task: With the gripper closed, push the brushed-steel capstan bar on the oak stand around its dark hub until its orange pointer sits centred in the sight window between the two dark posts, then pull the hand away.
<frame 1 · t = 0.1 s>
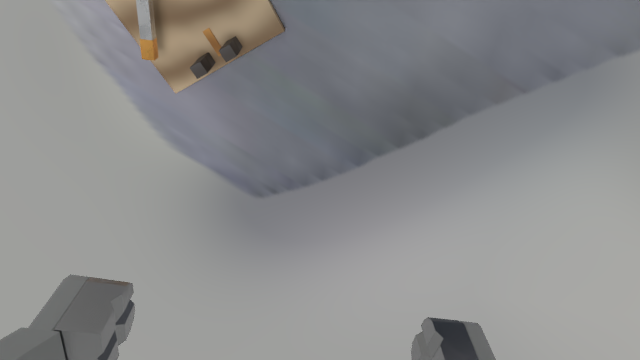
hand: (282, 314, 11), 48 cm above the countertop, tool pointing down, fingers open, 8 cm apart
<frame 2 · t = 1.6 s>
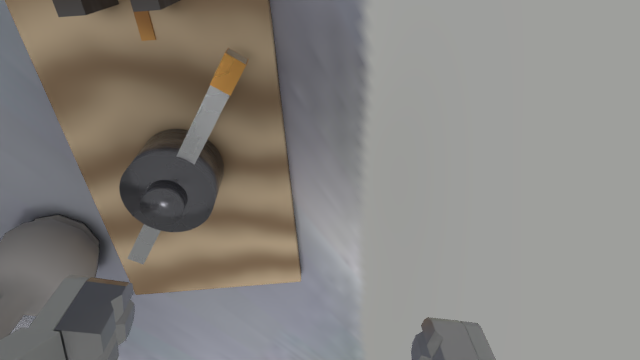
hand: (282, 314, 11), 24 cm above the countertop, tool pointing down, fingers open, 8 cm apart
capstan: (182, 166, 30), point 5 cm above the countertop, hinge at -35.0°
stand: (188, 156, 35), on the countertop
potion bottle: (64, 239, 40), on the countertop
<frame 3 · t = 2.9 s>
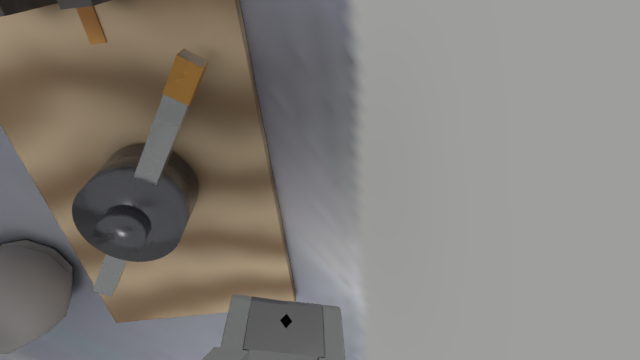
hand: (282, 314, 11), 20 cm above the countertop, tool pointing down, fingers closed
capstan: (145, 187, 26), point 5 cm above the countertop, hinge at -35.0°
stand: (160, 172, 31), on the countertop
potion bottle: (35, 265, 36), on the countertop
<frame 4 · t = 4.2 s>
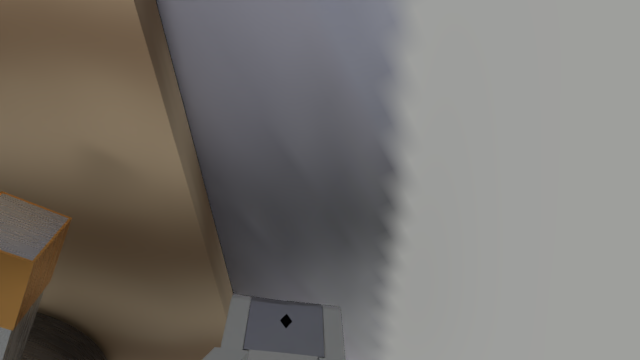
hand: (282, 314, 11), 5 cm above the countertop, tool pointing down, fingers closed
stand: (48, 325, 18), on the countertop
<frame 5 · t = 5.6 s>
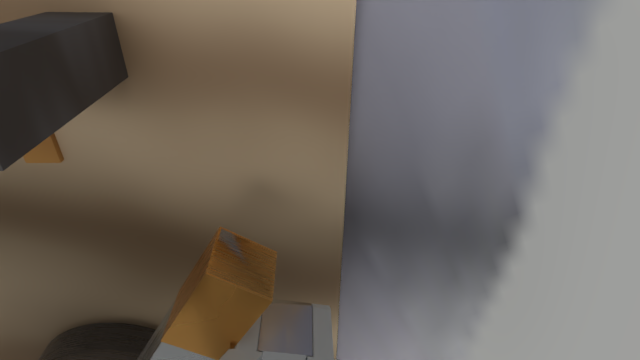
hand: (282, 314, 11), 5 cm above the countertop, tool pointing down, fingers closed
stand: (144, 339, 18), on the countertop
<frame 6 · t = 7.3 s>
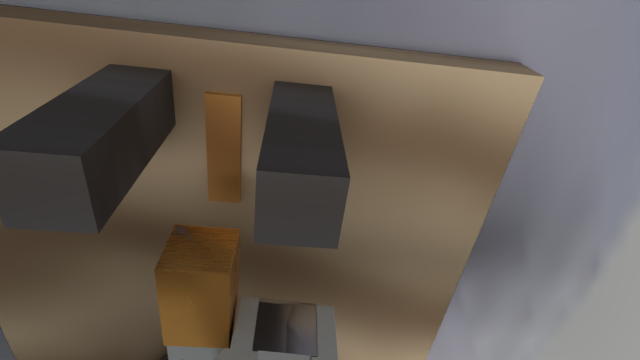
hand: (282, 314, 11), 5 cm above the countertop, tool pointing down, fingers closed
stand: (232, 353, 19), on the countertop
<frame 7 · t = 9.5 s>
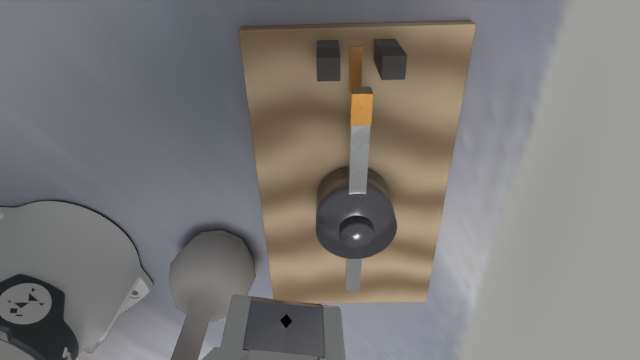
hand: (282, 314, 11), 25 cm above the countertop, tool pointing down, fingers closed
capstan: (355, 199, 33), point 5 cm above the countertop, hinge at -0.8°
stand: (351, 186, 39), on the countertop
potion bottle: (219, 250, 44), on the countertop
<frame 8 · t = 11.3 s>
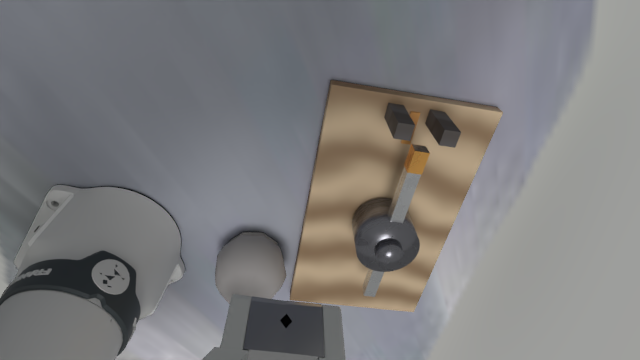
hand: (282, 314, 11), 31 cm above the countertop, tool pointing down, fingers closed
capstan: (390, 225, 43), point 5 cm above the countertop, hinge at -0.8°
stand: (378, 212, 48), on the countertop
potion bottle: (253, 249, 51), on the countertop
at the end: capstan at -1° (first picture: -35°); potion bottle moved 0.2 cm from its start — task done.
